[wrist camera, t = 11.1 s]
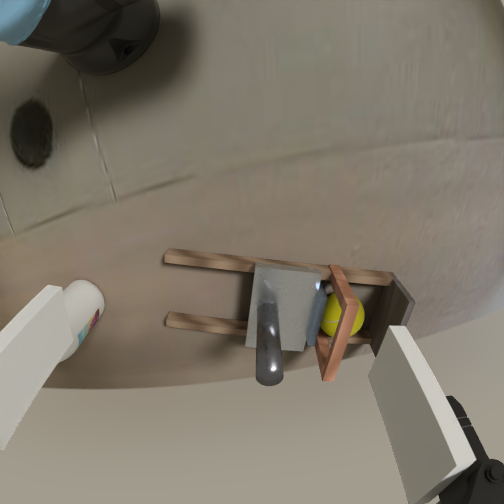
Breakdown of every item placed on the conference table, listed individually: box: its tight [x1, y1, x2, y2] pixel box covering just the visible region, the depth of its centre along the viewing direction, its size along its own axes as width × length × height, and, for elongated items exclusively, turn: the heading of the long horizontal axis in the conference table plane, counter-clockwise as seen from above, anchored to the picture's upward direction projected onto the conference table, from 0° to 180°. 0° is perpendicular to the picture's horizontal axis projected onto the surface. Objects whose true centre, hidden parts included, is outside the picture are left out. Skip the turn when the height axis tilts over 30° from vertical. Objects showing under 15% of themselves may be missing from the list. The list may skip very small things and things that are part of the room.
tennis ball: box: [320, 292, 364, 338], centre depth 45 cm, size 7×7×7 cm
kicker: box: [245, 262, 327, 386], centre depth 40 cm, size 10×14×17 cm
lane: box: [165, 248, 415, 381], centre depth 43 cm, size 34×13×11 cm, turn 84°
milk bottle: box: [58, 280, 105, 363], centre depth 40 cm, size 8×8×20 cm
